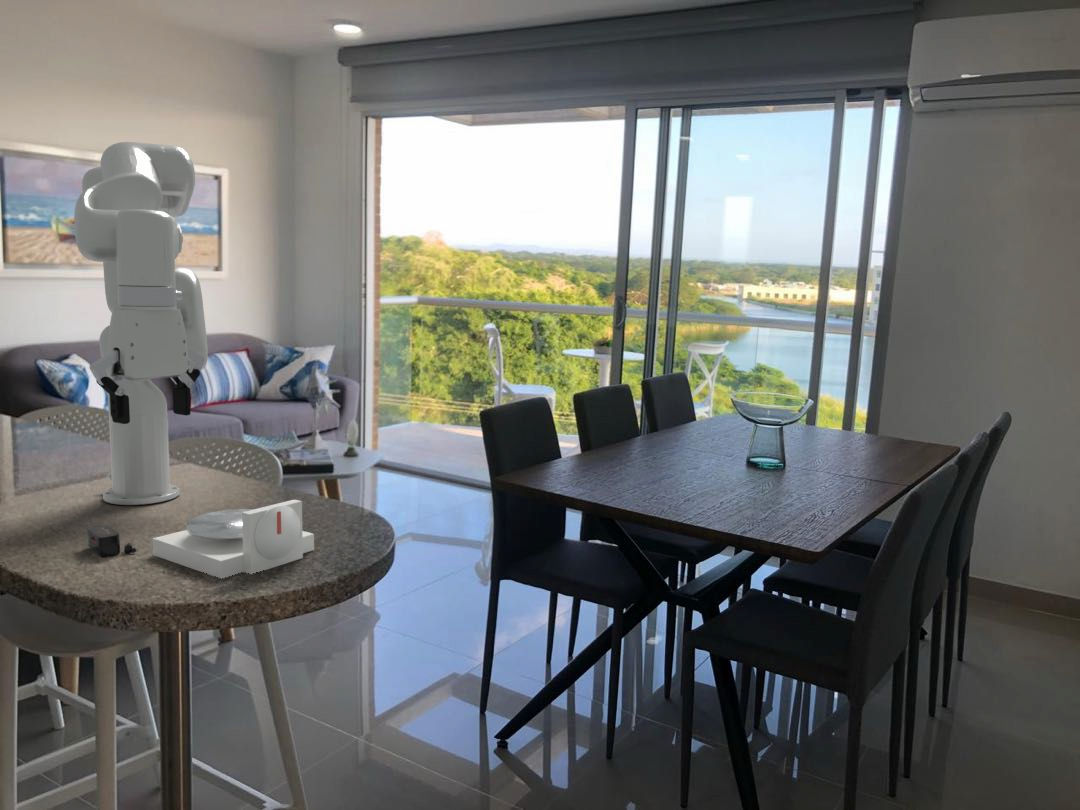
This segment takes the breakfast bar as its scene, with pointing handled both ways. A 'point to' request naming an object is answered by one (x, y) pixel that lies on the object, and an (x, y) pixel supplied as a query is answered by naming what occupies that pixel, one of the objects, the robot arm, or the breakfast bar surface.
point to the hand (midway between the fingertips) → (152, 418)
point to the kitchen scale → (239, 540)
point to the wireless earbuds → (106, 542)
